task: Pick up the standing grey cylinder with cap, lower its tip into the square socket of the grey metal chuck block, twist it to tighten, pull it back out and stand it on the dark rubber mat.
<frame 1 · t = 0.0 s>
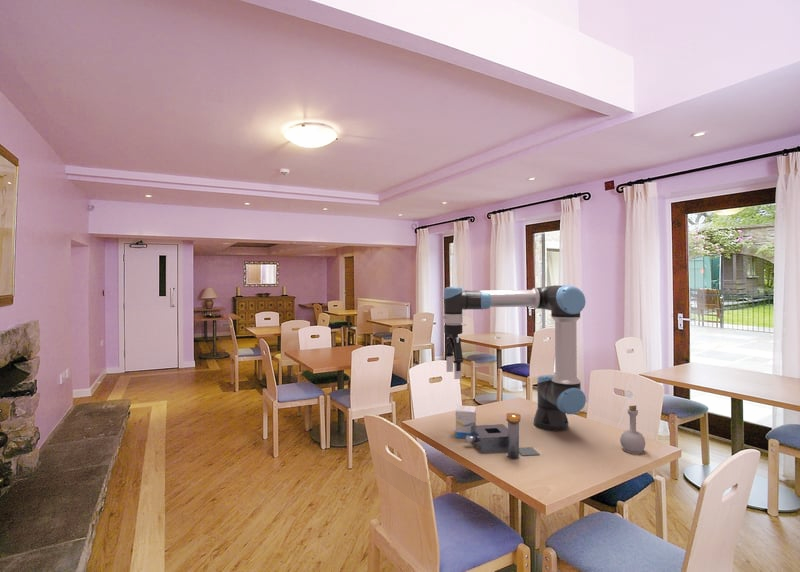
hand: (453, 375, 177), 28 cm above the table, fingers open, 13 cm apart
ink box: (466, 435, 186), on the table
chuck block: (492, 445, 174), on the table
mat: (527, 452, 166), on the table
grey cylinder with cap: (513, 456, 162), on the table
potion bottle: (633, 451, 167), on the table
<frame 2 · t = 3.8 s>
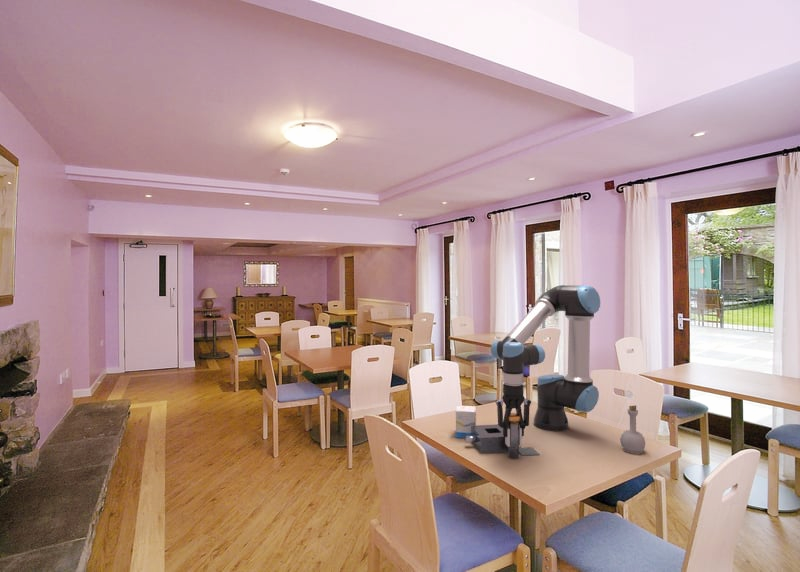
hand: (513, 444, 162), 5 cm above the table, fingers closed on grey cylinder with cap, 4 cm apart
grey cylinder with cap: (513, 456, 162), on the table, touching gripper
everything else where it was.
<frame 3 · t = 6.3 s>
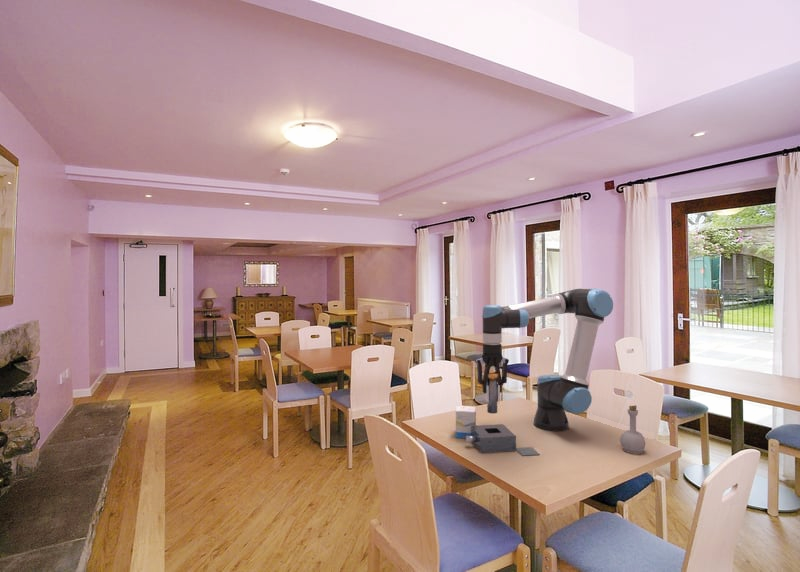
hand: (492, 400, 173), 18 cm above the table, fingers closed on grey cylinder with cap, 4 cm apart
grey cylinder with cap: (492, 411, 173), point 14 cm above the table, touching gripper
everything else where it was.
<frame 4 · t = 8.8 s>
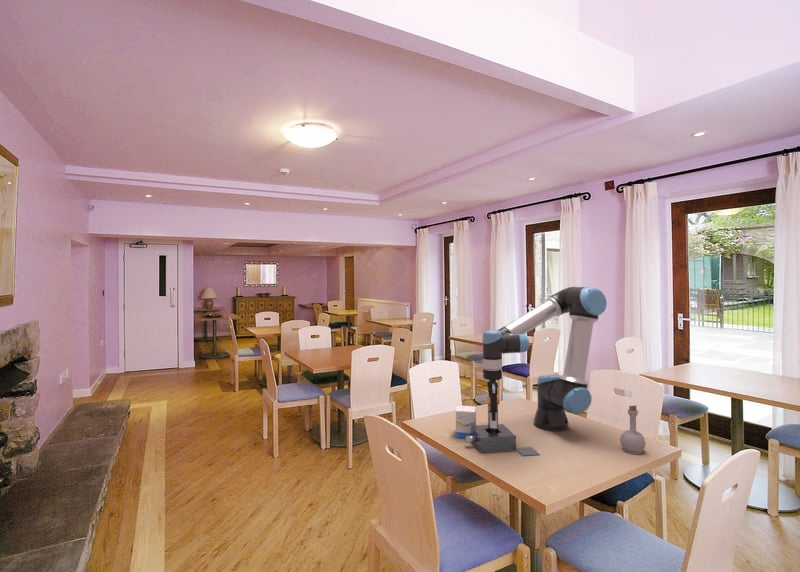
hand: (493, 425, 174), 8 cm above the table, fingers closed on grey cylinder with cap, 4 cm apart
grey cylinder with cap: (493, 437, 174), point 3 cm above the table, touching gripper
everything else where it was.
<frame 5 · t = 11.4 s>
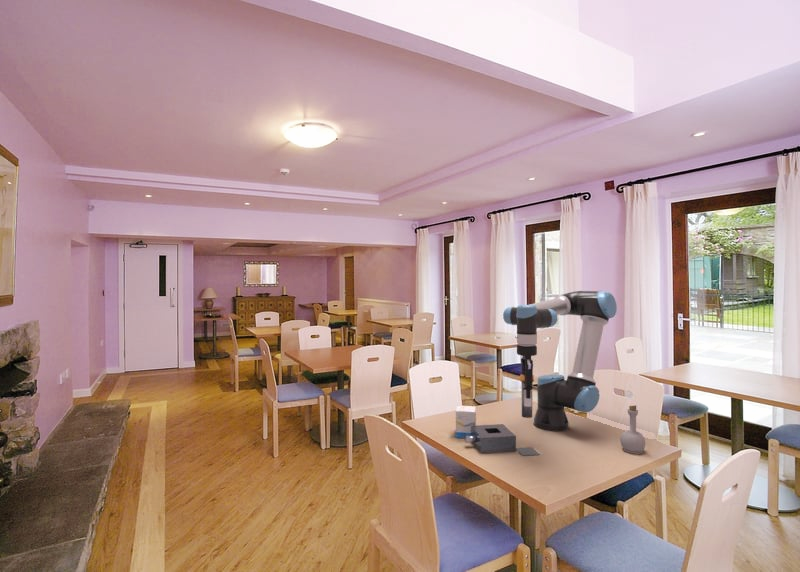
hand: (526, 404, 166), 19 cm above the table, fingers closed on grey cylinder with cap, 4 cm apart
grey cylinder with cap: (526, 416, 166), point 14 cm above the table, touching gripper
everything else where it was.
when the fingers open (6 cm above the table, at t = 13.8 s): grey cylinder with cap stays where it is, resting on mat.
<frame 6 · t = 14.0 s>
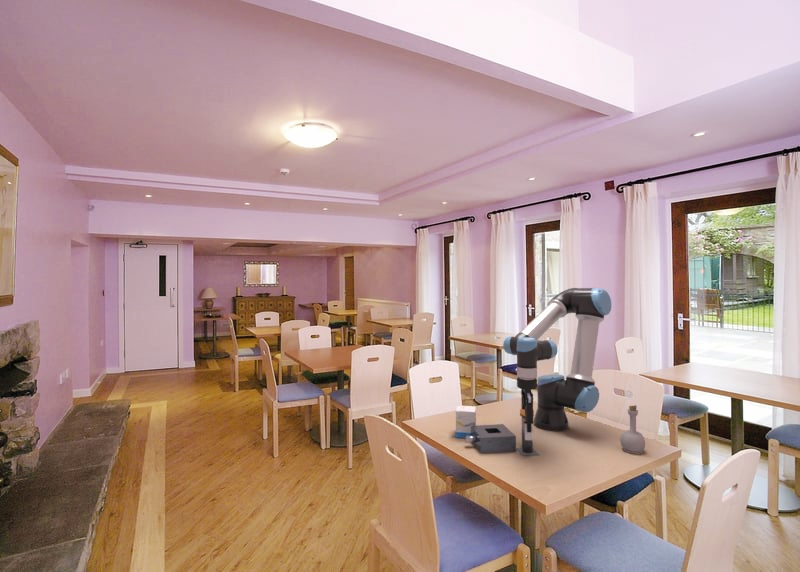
hand: (527, 436, 166), 6 cm above the table, fingers open, 6 cm apart
grey cylinder with cap: (527, 450, 167), resting on mat
everything else where it was.
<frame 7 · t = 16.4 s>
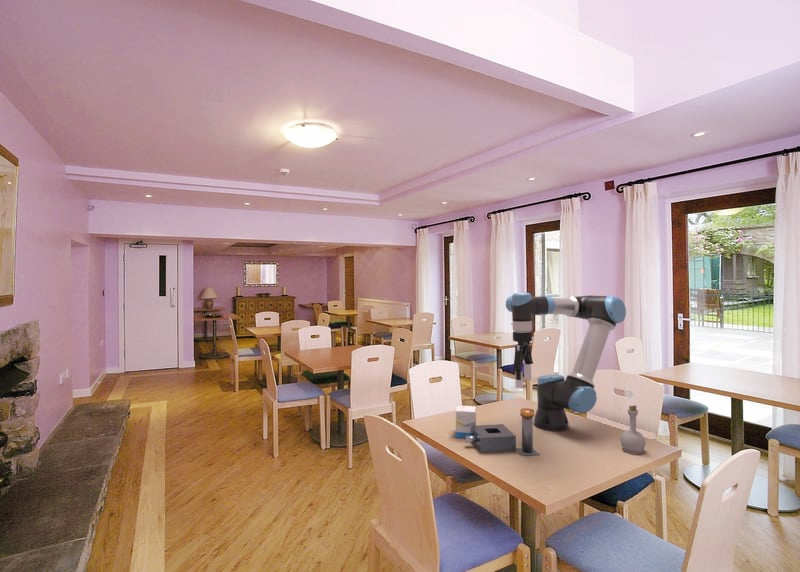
hand: (523, 383, 172), 25 cm above the table, fingers open, 13 cm apart
nothing on the table moved.
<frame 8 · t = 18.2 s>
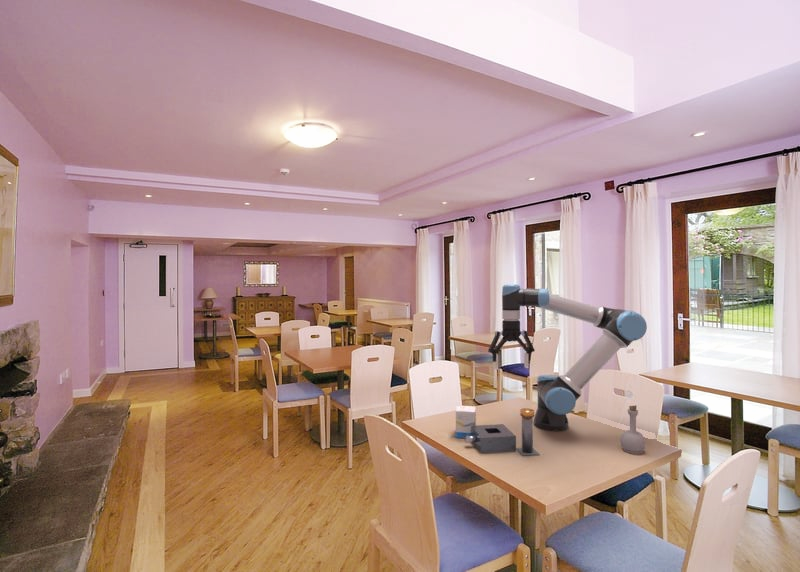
hand: (511, 368, 186), 29 cm above the table, fingers open, 13 cm apart
nothing on the table moved.
at the end: grey cylinder with cap inside the target area on the mat (0.0 cm from its centre), point 0.4 cm above the mat's base; grey cylinder with cap tilted 0°; the gripper is holding nothing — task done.
